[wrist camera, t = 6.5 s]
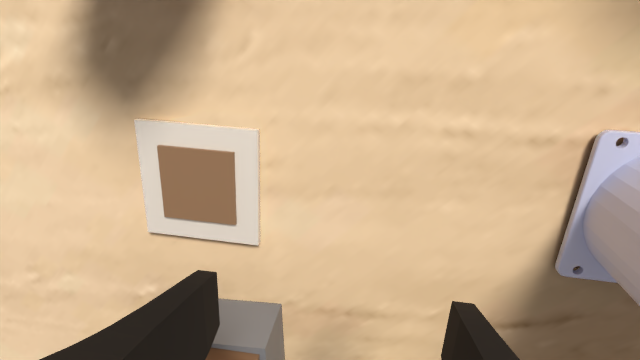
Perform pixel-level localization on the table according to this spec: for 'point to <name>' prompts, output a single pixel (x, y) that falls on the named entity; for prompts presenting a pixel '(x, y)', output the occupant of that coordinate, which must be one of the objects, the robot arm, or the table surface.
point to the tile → (200, 180)
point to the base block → (251, 328)
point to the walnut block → (230, 355)
